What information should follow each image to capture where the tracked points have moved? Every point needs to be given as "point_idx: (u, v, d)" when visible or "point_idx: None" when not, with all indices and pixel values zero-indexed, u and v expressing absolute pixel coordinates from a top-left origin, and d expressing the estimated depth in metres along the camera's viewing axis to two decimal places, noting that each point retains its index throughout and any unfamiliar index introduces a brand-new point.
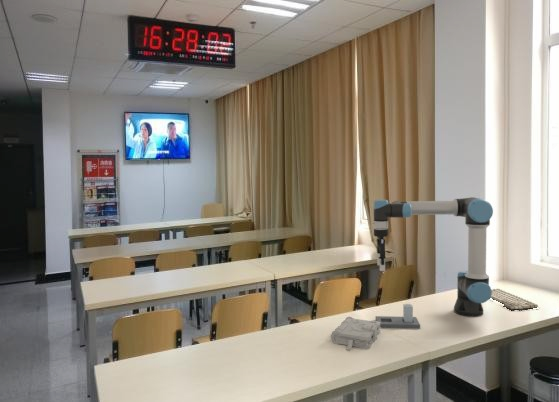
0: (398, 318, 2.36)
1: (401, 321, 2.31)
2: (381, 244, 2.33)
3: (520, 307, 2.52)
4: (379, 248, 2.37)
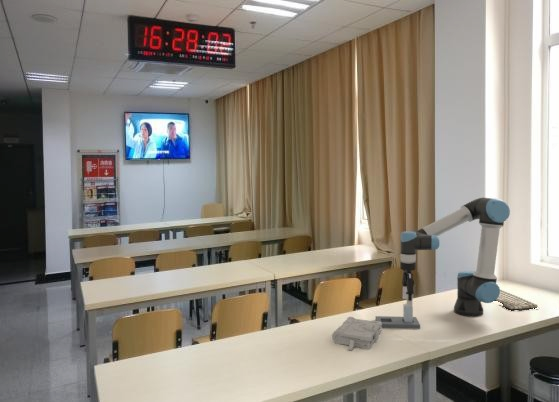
0: (398, 318, 2.36)
1: (401, 321, 2.31)
2: (409, 279, 2.23)
3: (520, 307, 2.52)
4: (406, 282, 2.27)
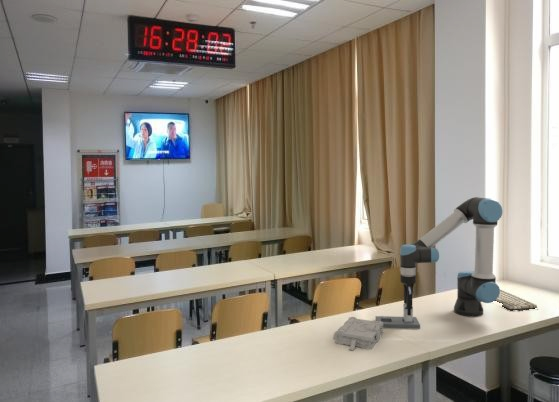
0: (398, 318, 2.36)
1: (401, 321, 2.31)
2: (409, 295, 2.25)
3: (519, 307, 2.52)
4: (406, 296, 2.29)
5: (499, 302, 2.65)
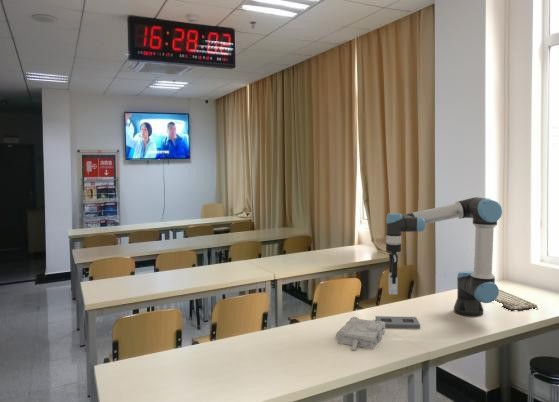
0: (398, 318, 2.36)
1: (401, 321, 2.31)
2: (394, 263, 2.25)
3: (519, 307, 2.52)
4: (391, 265, 2.29)
5: (499, 302, 2.65)
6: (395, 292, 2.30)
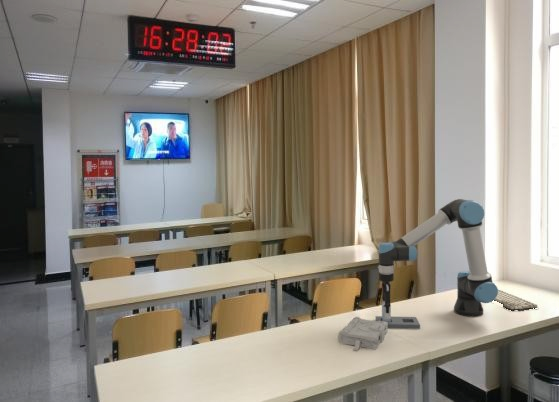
0: (398, 318, 2.36)
1: (401, 321, 2.31)
2: (386, 292, 2.26)
3: (520, 307, 2.52)
4: (384, 294, 2.30)
5: (499, 302, 2.65)
6: None
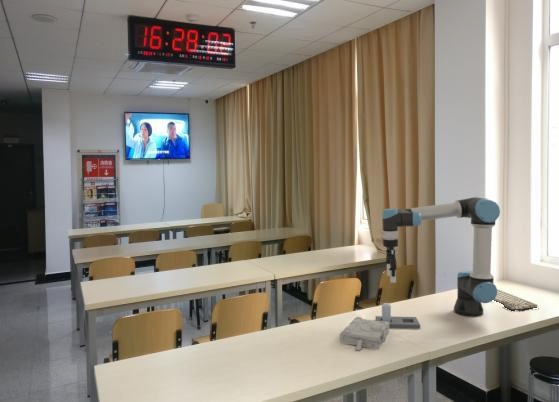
0: (398, 318, 2.36)
1: (401, 321, 2.31)
2: (391, 255, 2.26)
3: (520, 307, 2.52)
4: (389, 259, 2.29)
5: (499, 302, 2.65)
6: None
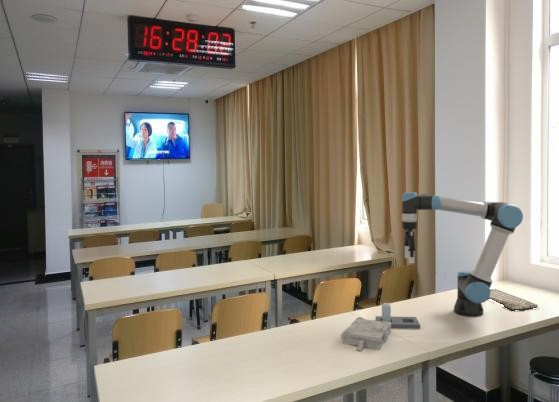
0: (398, 318, 2.36)
1: (401, 321, 2.31)
2: (410, 236, 2.33)
3: (521, 307, 2.52)
4: (408, 240, 2.36)
5: (499, 302, 2.65)
6: None
